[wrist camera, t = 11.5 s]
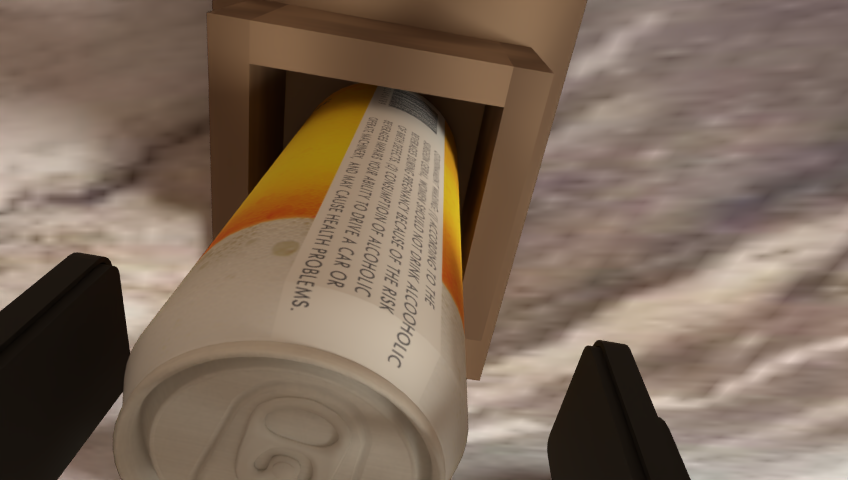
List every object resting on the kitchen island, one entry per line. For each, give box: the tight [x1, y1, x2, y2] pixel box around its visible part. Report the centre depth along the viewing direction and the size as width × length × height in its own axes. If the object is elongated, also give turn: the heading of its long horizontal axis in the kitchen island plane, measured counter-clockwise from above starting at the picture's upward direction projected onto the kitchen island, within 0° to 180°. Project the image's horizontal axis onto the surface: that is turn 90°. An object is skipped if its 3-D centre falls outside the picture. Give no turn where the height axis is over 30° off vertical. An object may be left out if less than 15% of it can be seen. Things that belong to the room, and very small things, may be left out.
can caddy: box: [207, 0, 587, 381], centre depth 20 cm, size 13×22×6 cm, turn 171°
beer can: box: [113, 83, 468, 480], centre depth 15 cm, size 6×6×15 cm
